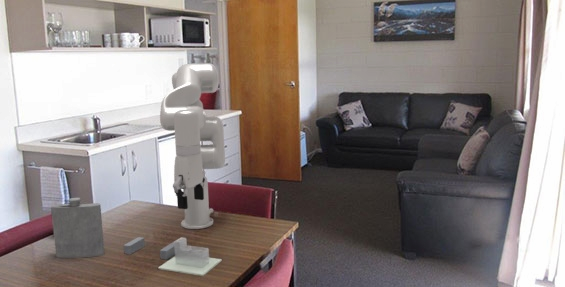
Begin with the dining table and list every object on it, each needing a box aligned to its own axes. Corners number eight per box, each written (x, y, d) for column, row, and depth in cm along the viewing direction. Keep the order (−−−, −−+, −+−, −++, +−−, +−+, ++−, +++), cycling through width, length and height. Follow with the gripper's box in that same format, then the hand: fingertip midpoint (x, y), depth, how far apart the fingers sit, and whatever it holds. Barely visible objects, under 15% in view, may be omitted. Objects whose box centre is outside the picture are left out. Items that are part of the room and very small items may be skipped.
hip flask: (105, 252, 173) (100, 195, 169) (102, 256, 169) (97, 199, 165) (58, 253, 172) (52, 197, 168) (53, 258, 168) (47, 200, 164)
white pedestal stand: (182, 259, 164) (181, 237, 163) (209, 263, 160) (208, 240, 159) (175, 263, 160) (174, 241, 159) (202, 268, 157) (201, 245, 156)
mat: (179, 254, 169) (179, 253, 169) (221, 260, 163) (221, 259, 163) (158, 269, 158) (158, 267, 158) (203, 276, 152) (203, 274, 152)
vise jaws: (138, 245, 178) (138, 237, 178) (180, 250, 172) (179, 242, 172) (124, 253, 171) (123, 245, 170) (167, 259, 165) (166, 251, 164)
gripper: (192, 144, 163) (195, 195, 166) (161, 155, 147) (165, 211, 150) (212, 145, 160) (215, 197, 164) (183, 156, 145) (187, 213, 148)
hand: (191, 203), depth 157 cm, fingers open, 9 cm apart
